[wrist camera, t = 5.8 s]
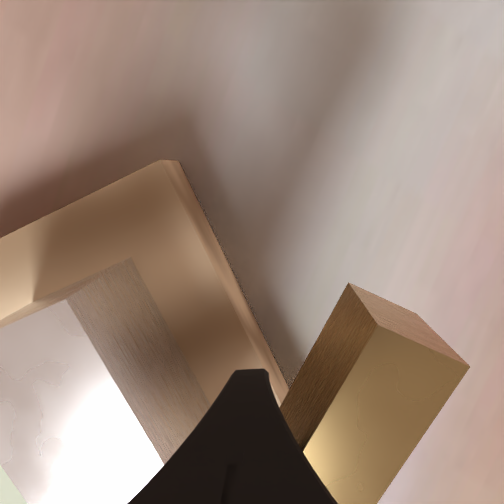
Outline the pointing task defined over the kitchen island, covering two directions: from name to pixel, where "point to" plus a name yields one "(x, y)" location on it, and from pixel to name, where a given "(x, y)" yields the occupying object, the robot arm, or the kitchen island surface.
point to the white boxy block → (92, 391)
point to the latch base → (147, 268)
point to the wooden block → (368, 394)
